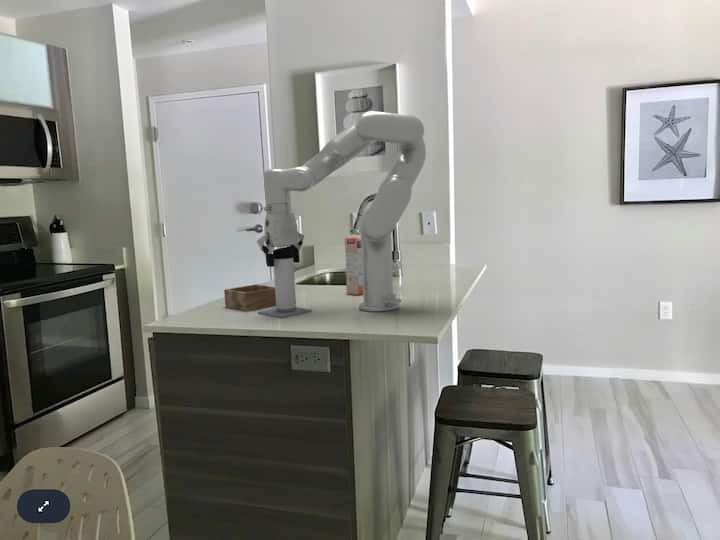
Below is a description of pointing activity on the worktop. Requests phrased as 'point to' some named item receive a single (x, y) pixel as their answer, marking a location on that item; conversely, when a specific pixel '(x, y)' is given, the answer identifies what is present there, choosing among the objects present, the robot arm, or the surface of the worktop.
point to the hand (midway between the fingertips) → (283, 264)
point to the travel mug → (284, 279)
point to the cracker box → (354, 265)
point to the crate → (250, 297)
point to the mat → (284, 314)
